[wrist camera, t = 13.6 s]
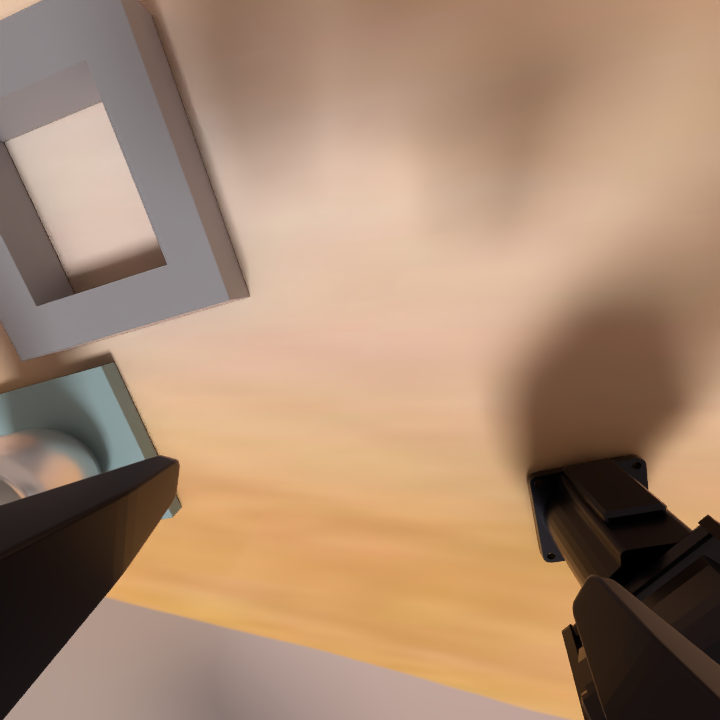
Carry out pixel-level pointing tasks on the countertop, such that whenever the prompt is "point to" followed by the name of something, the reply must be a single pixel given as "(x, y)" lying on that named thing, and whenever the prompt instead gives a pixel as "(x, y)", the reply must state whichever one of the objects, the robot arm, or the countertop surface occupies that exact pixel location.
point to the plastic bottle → (42, 462)
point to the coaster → (84, 416)
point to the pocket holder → (145, 161)
